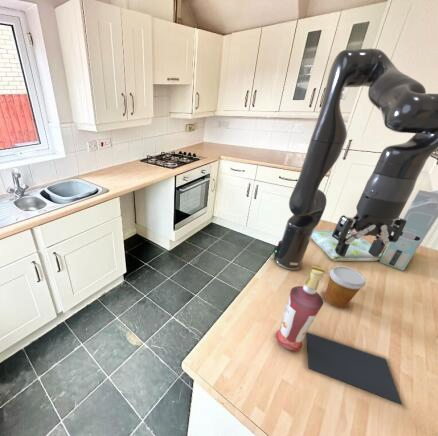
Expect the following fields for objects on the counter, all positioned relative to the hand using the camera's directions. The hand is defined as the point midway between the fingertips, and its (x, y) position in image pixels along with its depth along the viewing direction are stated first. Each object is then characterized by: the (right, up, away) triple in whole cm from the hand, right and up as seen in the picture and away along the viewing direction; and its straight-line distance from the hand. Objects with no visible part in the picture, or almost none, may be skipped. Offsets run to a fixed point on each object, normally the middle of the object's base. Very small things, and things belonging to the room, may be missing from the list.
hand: (356, 254), depth 61 cm
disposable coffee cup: (+14, -20, +24) cm, 34 cm away
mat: (+2, -31, +5) cm, 31 cm away
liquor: (-11, -28, +11) cm, 32 cm away
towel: (+37, -5, +50) cm, 62 cm away
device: (+55, -8, +44) cm, 71 cm away
